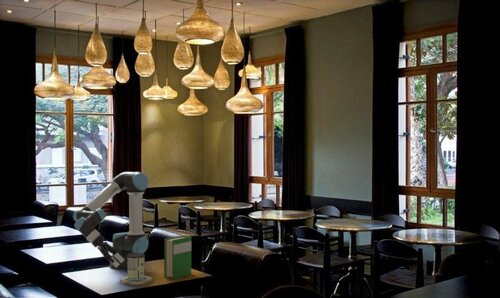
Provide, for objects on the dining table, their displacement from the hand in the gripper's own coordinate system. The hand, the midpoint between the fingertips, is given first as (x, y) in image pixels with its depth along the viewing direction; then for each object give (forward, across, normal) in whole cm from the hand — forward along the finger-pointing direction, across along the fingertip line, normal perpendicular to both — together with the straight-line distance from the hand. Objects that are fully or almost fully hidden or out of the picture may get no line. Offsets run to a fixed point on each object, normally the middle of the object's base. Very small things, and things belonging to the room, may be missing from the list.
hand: (120, 263), depth 337 cm
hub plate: (+14, 0, -1) cm, 14 cm away
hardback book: (+31, -15, +16) cm, 38 cm away
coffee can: (+13, 0, 0) cm, 13 cm away
